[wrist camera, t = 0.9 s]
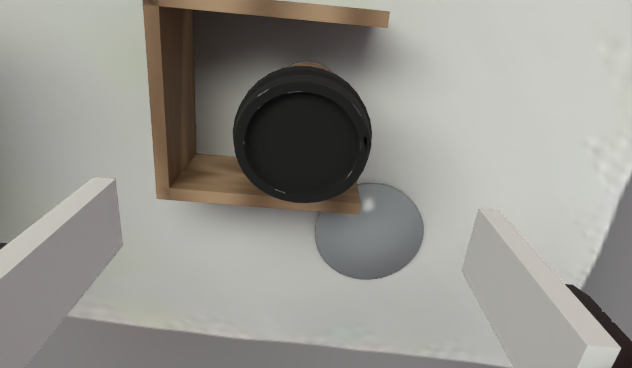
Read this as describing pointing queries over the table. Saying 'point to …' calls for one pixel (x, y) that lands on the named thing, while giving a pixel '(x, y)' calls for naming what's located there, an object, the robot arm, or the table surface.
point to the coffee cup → (302, 134)
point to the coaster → (371, 234)
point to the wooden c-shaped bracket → (179, 103)
